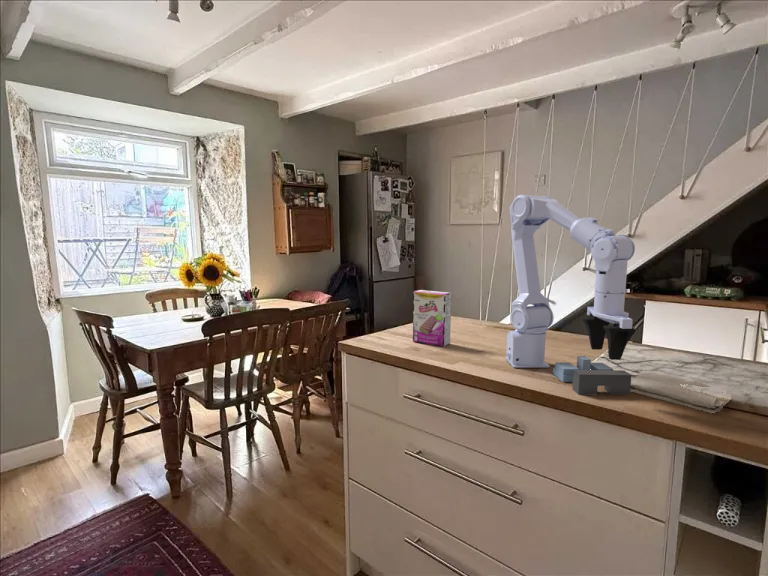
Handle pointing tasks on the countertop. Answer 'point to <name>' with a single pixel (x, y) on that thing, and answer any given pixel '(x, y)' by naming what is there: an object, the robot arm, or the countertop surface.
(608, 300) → the robot arm
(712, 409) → the washcloth
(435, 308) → the candy bar box
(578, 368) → the display stand
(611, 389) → the dark grey rectangular block
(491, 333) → the countertop surface
